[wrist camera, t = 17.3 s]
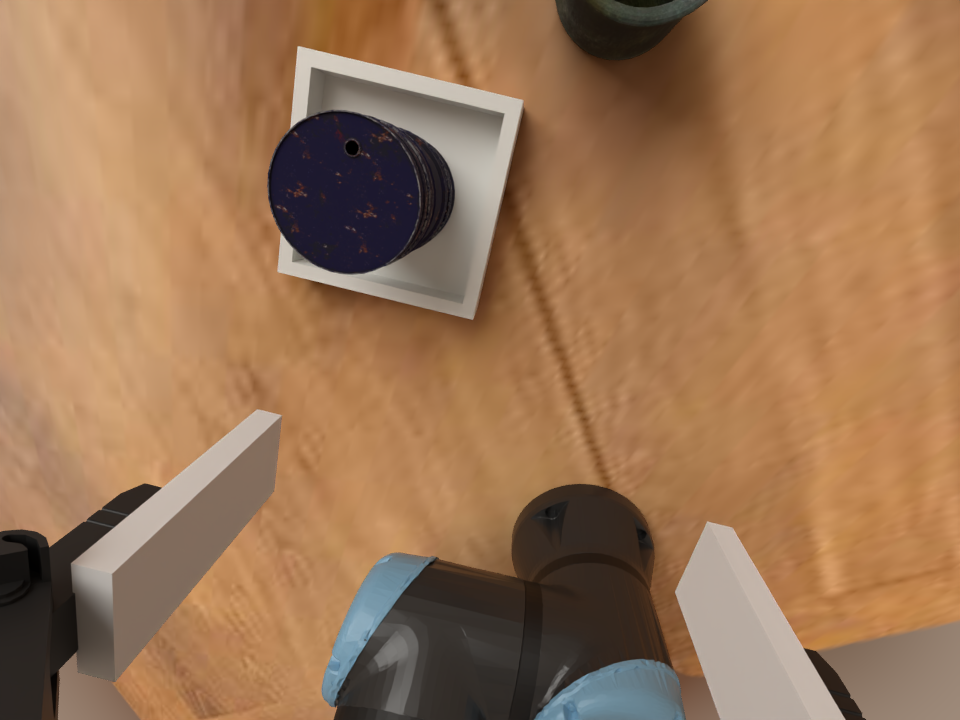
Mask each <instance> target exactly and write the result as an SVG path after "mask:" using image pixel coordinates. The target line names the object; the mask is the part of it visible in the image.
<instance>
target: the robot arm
mask: <svg viewBox="0 0 960 720" xmlns="http://www.w3.org/2000/svg"><path fill="white" fill-rule="evenodd" d="M281 420H282V415H279V414H275V413H271V412H267V411H263V410H259V409H257V410H256V411H255V412H253V413H252V414H251V415H250V416H249V417H247V418H246V419H245V420H244V421H243V422H241V423H240V424H239V425H238V426H236V427H235V428H234V429H233V430H232V431H230V432H229V433H228V434H227V435H226V436H224V437H223V438H222V439H221V440H220V441H218V442H217V443H216V444H215V445H214V446H212V447H211V448H210V449H209V450H207V451H206V452H205V453H204V454H203V455H201V456H200V457H199V458H198V459H197V460H195V461H194V462H193V463H192V464H191V465H189V466H188V467H187V468H186V469H184V470H183V471H182V472H181V473H180V474H178V475H177V476H176V477H175V478H174V479H172V480H171V481H170V482H169V483H168V484H166V485H165V486H164V487H163V488H161V487H157V486H153V485H149V484H142V485H140V486H138V487H135V488H133V489H130V490H128V491H126V492H123V493H121V494H120V495H118V496H117V497H116V498H114V499H113V500H112V501H110V502H109V503H108V504H106V505H105V506H104V507H103V508H102V510H98V511H97V512H96V513H94V514H93V515H92V516H91V517H89V518H88V519H87V521H86V522H83V523H81V524H80V525H79V526H77V527H76V528H75V529H73V530H72V531H71V532H69V533H68V534H67V535H65V536H64V537H63V538H61V539H60V540H59V541H57V542H56V543H55V544H54V545H52V546H51V547H50V548H49V545H48V542H47V539H46V537H44V536H43V535H41V534H39V533H38V532H34V531H28V530H10V531H2V532H0V720H58V701H59V681H60V679H59V669H60V668H61V667H62V666H63V665H64V664H65V663H66V662H67V661H68V660H69V659H70V658H71V657H72V656H73V654H75V652H77V667H78V673H82V674H86V675H90V676H93V677H97V678H101V679H105V680H109V681H113V682H116V680H117V679H118V678H119V677H120V676H121V674H122V673H123V672H124V671H125V670H126V668H127V667H128V666H129V665H130V664H131V662H132V661H133V660H134V659H135V658H136V656H137V655H138V654H139V653H140V652H141V650H142V649H143V648H144V647H145V646H146V644H147V643H148V642H149V641H150V640H151V638H152V637H153V636H154V635H155V634H156V632H157V631H158V630H159V629H160V628H161V626H162V625H163V624H164V623H165V622H166V620H167V619H168V618H169V617H170V616H171V614H172V613H173V612H174V611H175V610H176V608H177V607H178V606H179V605H180V604H181V602H182V601H183V600H184V599H185V598H186V596H187V595H188V594H189V593H190V592H191V590H192V589H193V588H194V587H195V586H196V584H197V583H198V582H199V581H200V580H201V578H202V577H203V576H204V575H205V574H206V572H207V571H208V570H209V569H210V568H211V566H212V565H213V564H214V563H215V562H216V560H217V559H218V558H219V557H220V556H221V554H222V553H223V552H224V551H225V550H226V548H227V547H228V546H229V545H230V544H231V542H232V541H233V540H234V539H235V538H236V536H237V535H238V534H239V533H240V532H241V530H242V529H243V528H244V527H245V526H246V524H247V523H248V522H249V521H250V520H251V518H252V517H253V516H254V515H255V514H256V512H257V511H258V510H259V509H260V508H261V506H262V505H263V504H264V503H265V502H266V500H267V499H268V498H269V497H270V495H271V494H272V493H273V492H274V488H275V478H276V468H277V459H278V449H279V439H280V430H281ZM512 560H513V565H514V569H515V571H516V574H517V576H518V578H515V577H511V576H507V575H502V574H498V573H494V572H489V571H485V570H480V569H476V568H472V567H467V566H463V565H459V564H455V563H451V562H447V561H443V560H439V558H438V557H435V556H431V557H423V556H417V555H411V554H405V553H391V554H388V555H386V556H384V557H383V558H381V559H380V560H379V561H378V562H377V563H376V564H375V565H374V567H373V568H372V569H371V570H370V572H369V573H368V575H367V576H366V578H365V580H364V581H363V583H362V585H361V587H360V588H359V590H358V592H357V594H356V596H355V598H354V600H353V602H352V604H351V606H350V608H349V610H348V613H347V615H346V617H345V619H344V622H343V624H342V626H341V629H340V631H339V634H338V636H337V639H336V641H335V644H334V647H333V650H332V654H333V655H332V656H331V659H330V661H329V664H328V666H327V669H326V671H325V675H324V679H323V684H322V695H323V698H324V700H325V701H327V702H328V703H329V705H330V706H331V707H336V706H337V705H338V706H337V710H336V714H335V717H334V720H686V718H685V713H684V708H683V703H682V698H681V688H680V683H679V679H678V677H677V675H676V674H675V672H674V669H673V666H672V662H671V659H670V656H669V653H668V649H667V646H666V643H665V640H664V636H663V633H662V630H661V626H660V623H659V620H658V617H657V613H656V610H655V607H654V604H653V600H652V597H651V594H650V587H651V580H652V573H653V566H654V544H653V540H652V537H651V534H650V531H649V528H648V525H647V522H646V520H645V518H644V517H643V515H642V513H641V512H640V511H639V510H638V508H637V507H636V506H635V505H634V504H633V503H632V502H630V501H629V500H628V499H627V498H625V497H624V496H622V495H620V494H618V493H617V492H614V491H612V490H610V489H607V488H604V487H600V486H595V485H586V484H574V485H566V486H562V487H558V488H554V489H552V490H549V491H547V492H545V493H543V494H541V495H539V496H538V497H536V498H535V499H534V500H532V501H531V502H530V503H529V504H528V505H527V506H526V507H525V508H524V509H523V511H522V512H521V513H520V515H519V517H518V518H517V521H516V523H515V526H514V529H513V534H512ZM675 594H676V596H677V599H678V602H679V605H680V608H681V610H682V613H683V616H684V619H685V622H686V625H687V627H688V630H689V633H690V636H691V639H692V641H693V644H694V647H695V650H696V653H697V656H698V658H699V661H700V664H701V667H702V670H703V672H704V675H705V678H706V681H707V684H708V687H709V689H710V692H711V695H712V698H713V701H714V703H715V706H716V709H717V712H718V714H719V717H720V720H866V719H865V718H862V713H861V711H860V709H859V708H858V706H857V705H856V703H855V701H854V700H853V699H851V698H850V693H849V692H848V690H847V689H846V687H845V685H844V684H843V682H842V681H841V679H840V677H839V676H838V674H837V673H836V672H835V671H834V670H833V668H831V666H830V665H829V664H828V663H827V662H826V661H825V660H824V659H823V658H822V657H821V656H820V655H819V654H818V653H817V652H816V651H813V650H809V649H805V648H803V647H802V645H801V643H800V642H799V640H798V638H797V637H796V635H795V633H794V632H793V630H792V628H791V626H790V625H789V623H788V621H787V620H786V618H785V616H784V615H783V613H782V611H781V609H780V608H779V606H778V604H777V603H776V601H775V599H774V598H773V596H772V594H771V592H770V591H769V589H768V587H767V586H766V584H765V582H764V581H763V579H762V577H761V575H760V574H759V572H758V570H757V569H756V567H755V565H754V564H753V562H752V560H751V558H750V557H749V555H748V553H747V552H746V550H745V548H744V547H743V545H742V543H741V541H740V540H739V538H738V536H737V535H736V533H735V531H734V530H733V528H731V527H727V526H723V525H719V524H715V523H711V522H707V523H706V526H705V528H704V530H703V532H702V534H701V536H700V539H699V541H698V543H697V545H696V547H695V549H694V552H693V554H692V556H691V558H690V560H689V563H688V565H687V567H686V569H685V571H684V573H683V576H682V578H681V580H680V582H679V584H678V586H677V589H676V591H675Z"/></svg>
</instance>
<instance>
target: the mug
mask: <svg viewBox="0 0 960 720" xmlns="http://www.w3.org/2000/svg"><path fill="white" fill-rule="evenodd" d="M555 1H556V6H557V11H558V14H559V17H560V19H561V22H562V24H563V26H564V28H565V30H566V31H567V33H568V34H569V36H570V37H571V38H572V40H573V41H574V42H575V43H576V44H577V45H578V46H580V47H581V48H582V49H583V50H585V51H586V52H588V53H590V54H592V55H594V56H596V57H599V58H603V59H608V60H623V59H629V58H633V57H636V56H639V55H641V54H643V53H645V52H647V51H649V50H650V49H651V48H653V47H654V46H655V45H657V44H658V43H659V42H660V41H661V40H662V39H663V38H664V37H665V36H666V35H667V34H668V33H669V32H670V31H671V30H672V29H673V28H674V26H675V25H676V24H677V23H678V22H679V21H680V20H681V19H682V18H683V17H684V16H686V15H688V14H690V13H692V12H693V11H695V10H696V9H697V8H699V7H700V6H701V5H703V4H704V3H705V2H707V1H708V0H555Z"/></svg>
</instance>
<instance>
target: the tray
mask: <svg viewBox="0 0 960 720" xmlns="http://www.w3.org/2000/svg"><path fill="white" fill-rule="evenodd" d="M328 110H347V111H352V112H357V113H360V114H363V115H368V116H372V117H375V118H377V119H380V120H383V121H386V122H388V123H391V124H393V125H394V126H396V127H399V128H403V129H405V130H408V131H410V132H412V133H413V134H415V135H417V136H419V137H421V138H422V139H424V140H425V141H426V142H428V143H430V144H431V145H432V146H433V147H434V148H436V149H437V150H438V152H439V153H440V154H441V155H442V156H443V158H444V159H445V161H446V162H447V164H448V166H449V168H450V171H451V173H452V177H453V180H454V187H455V201H454V207H453V210H452V213H451V216H450V218H449V220H448V222H447V224H446V225H445V227H444V228H443V229H442V231H441V232H440V233H439V234H438V235H437V236H435V237H434V238H433V239H432V240H431V241H430V242H428V243H427V244H425V245H424V246H422V247H420V248H418V249H416V250H414V251H412V252H410V253H409V254H408V255H406V256H405V257H403V258H401V259H399V260H398V261H396V262H394V263H392V264H390V265H387V266H385V267H381V268H379V269H377V270H375V271H372V272H368V273H365V274H356V275H347V274H338V273H334V272H329V271H327V270H324V269H322V268H319V267H317V266H315V265H314V264H312V263H310V262H308V261H307V260H306V259H304V258H303V257H302V256H301V255H299V254H298V253H297V252H296V251H295V250H294V249H293V248H292V247H291V246H290V245H289V243H288V242H287V241H286V239H285V238H284V237H283V235H282V233H281V239H280V250H279V261H278V272H280V273H284V274H288V275H292V276H296V277H300V278H304V279H308V280H312V281H316V282H320V283H325V284H329V285H333V286H337V287H341V288H345V289H349V290H353V291H357V292H361V293H365V294H369V295H373V296H377V297H381V298H385V299H390V300H394V301H398V302H402V303H406V304H410V305H414V306H418V307H422V308H426V309H430V310H434V311H438V312H442V313H446V314H451V315H455V316H459V317H463V318H467V319H471V320H473V318H474V316H475V314H476V311H477V308H478V304H479V300H480V295H481V291H482V287H483V282H484V278H485V274H486V270H487V265H488V261H489V257H490V252H491V248H492V244H493V239H494V235H495V231H496V226H497V222H498V218H499V213H500V209H501V205H502V201H503V196H504V192H505V188H506V183H507V179H508V175H509V170H510V166H511V162H512V157H513V153H514V149H515V144H516V140H517V136H518V131H519V127H520V123H521V119H522V114H523V110H524V101H523V100H520V99H516V98H512V97H508V96H504V95H499V94H495V93H491V92H487V91H483V90H479V89H475V88H470V87H466V86H462V85H458V84H454V83H450V82H445V81H441V80H437V79H433V78H429V77H425V76H420V75H416V74H412V73H408V72H404V71H400V70H395V69H391V68H387V67H383V66H379V65H375V64H370V63H366V62H362V61H358V60H354V59H350V58H345V57H341V56H337V55H333V54H329V53H325V52H320V51H316V50H312V49H308V48H304V47H300V46H298V50H297V62H296V73H295V84H294V95H293V106H292V117H291V128H292V127H293V126H294V125H295V124H296V123H297V122H299V121H301V120H302V119H304V118H306V117H308V116H309V115H312V114H315V113H318V112H321V111H328Z"/></svg>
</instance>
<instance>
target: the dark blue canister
mask: <svg viewBox="0 0 960 720" xmlns="http://www.w3.org/2000/svg"><path fill="white" fill-rule="evenodd" d="M267 187H268V198H269V203H270V207H271V212H272V214H273V217H274V219H275V222H276V224H277V226H278V228H279V230H280V232H281V233H282V235H283V237H284V238H285V239H286V241H287V242H288V243H289V245H290V246H291V247H292V248H293V249H294V250H295V251H296V252H297V253H298V254H299V255H301V256H302V257H303V258H304V259H306V260H307V261H308V262H310V263H312V264H314V265H315V266H317V267H319V268H322V269H324V270H327V271H329V272H334V273H338V274H347V275H356V274H365V273H368V272H372V271H375V270H377V269H379V268H381V267H385V266H387V265H390V264H392V263H394V262H396V261H398V260H399V259H401V258H403V257H405V256H406V255H408V254H409V253H410V252H412V251H414V250H416V249H418V248H420V247H422V246H424V245H425V244H427V243H428V242H430V241H431V240H432V239H433V238H434V237H435V236H437V235H438V234H439V233H440V232H441V231H442V229H443V228H444V227H445V225H446V224H447V222H448V220H449V218H450V216H451V213H452V210H453V207H454V201H455V187H454V180H453V177H452V173H451V171H450V168H449V166H448V164H447V162H446V161H445V159H444V158H443V156H442V155H441V154H440V153H439V152H438V150H437V149H436V148H434V147H433V146H432V145H431V144H430V143H428V142H426V141H425V140H424V139H422V138H421V137H419V136H417V135H415V134H413V133H412V132H410V131H408V130H405V129H403V128H399V127H396V126H394V125H393V124H391V123H388V122H386V121H383V120H380V119H377V118H375V117H372V116H368V115H363V114H360V113H357V112H352V111H347V110H328V111H321V112H318V113H315V114H312V115H309V116H308V117H306V118H304V119H302V120H301V121H299V122H297V123H296V124H295V125H294V126H293V127H292V128H290V129H289V130H288V131H287V133H286V134H285V135H284V136H283V137H282V139H281V140H280V142H279V144H278V145H277V147H276V149H275V151H274V154H273V156H272V159H271V162H270V167H269V172H268V185H267Z"/></svg>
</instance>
